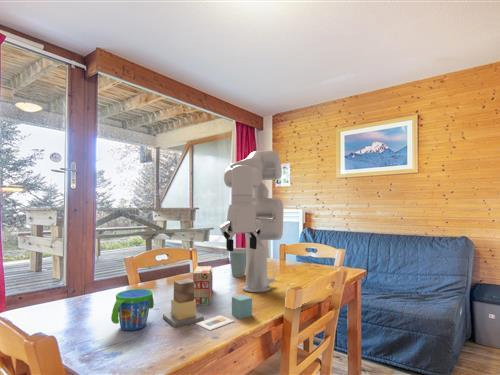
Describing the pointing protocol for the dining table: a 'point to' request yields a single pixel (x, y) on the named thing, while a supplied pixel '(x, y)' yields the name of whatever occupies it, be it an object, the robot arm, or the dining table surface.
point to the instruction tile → (214, 322)
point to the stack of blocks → (202, 284)
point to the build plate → (184, 321)
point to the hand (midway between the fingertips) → (241, 249)
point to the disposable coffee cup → (238, 261)
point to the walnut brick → (183, 290)
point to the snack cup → (132, 308)
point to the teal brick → (242, 306)
